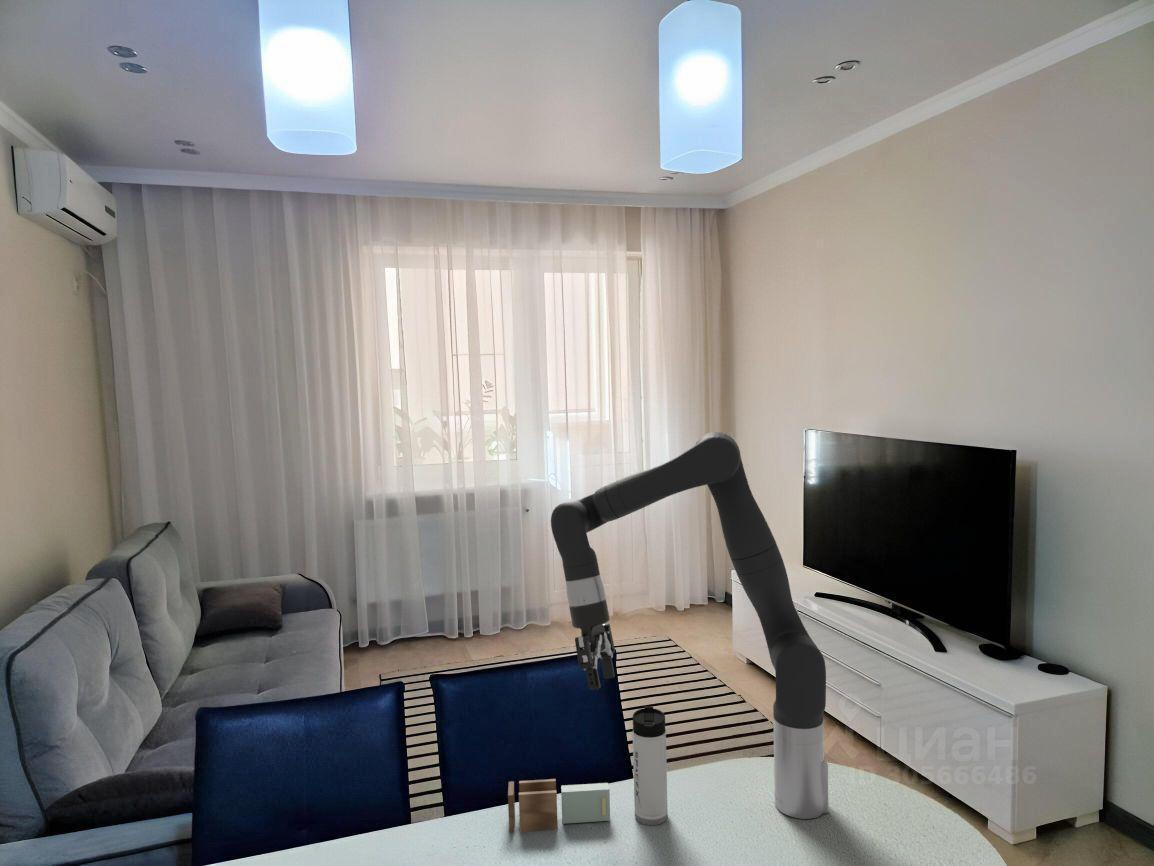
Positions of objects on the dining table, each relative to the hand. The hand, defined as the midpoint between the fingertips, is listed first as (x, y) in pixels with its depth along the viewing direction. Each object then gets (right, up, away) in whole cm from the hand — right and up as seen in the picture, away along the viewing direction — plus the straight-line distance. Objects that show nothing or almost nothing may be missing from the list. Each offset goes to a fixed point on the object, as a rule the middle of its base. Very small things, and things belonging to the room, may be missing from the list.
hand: (602, 683), depth 144 cm
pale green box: (-3, -24, -5) cm, 25 cm away
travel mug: (+9, -24, -4) cm, 26 cm away
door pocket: (-13, -25, -6) cm, 28 cm away
